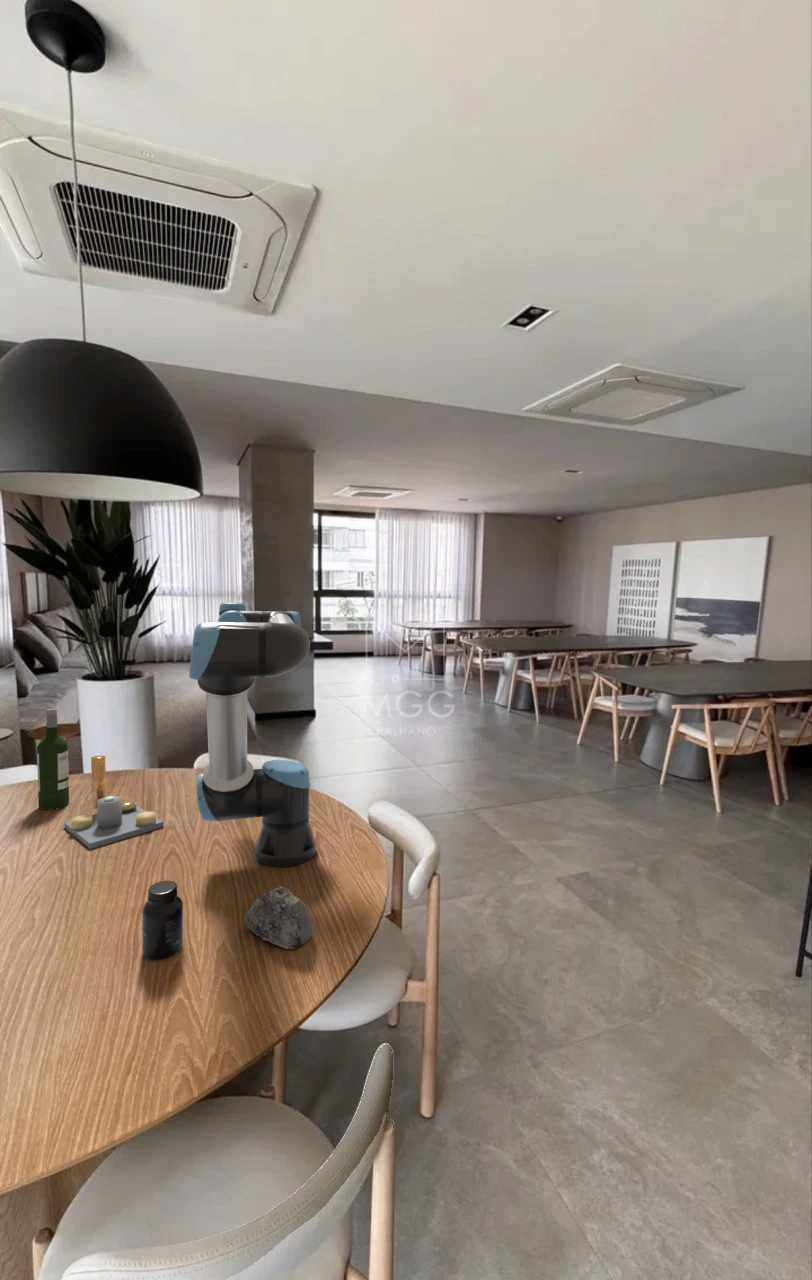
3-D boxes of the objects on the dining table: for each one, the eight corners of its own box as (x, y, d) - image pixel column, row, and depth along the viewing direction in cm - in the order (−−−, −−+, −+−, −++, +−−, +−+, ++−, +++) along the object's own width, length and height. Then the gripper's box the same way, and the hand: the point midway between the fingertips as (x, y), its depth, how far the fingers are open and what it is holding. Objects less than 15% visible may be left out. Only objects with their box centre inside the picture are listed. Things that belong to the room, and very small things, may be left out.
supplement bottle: (133, 955, 98) (132, 891, 97) (163, 934, 105) (162, 874, 104) (163, 965, 96) (162, 900, 95) (191, 943, 102) (190, 881, 101)
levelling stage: (163, 826, 153) (163, 795, 152) (89, 849, 139) (89, 814, 138) (134, 808, 166) (134, 779, 165) (64, 827, 151) (63, 795, 150)
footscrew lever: (141, 806, 163) (140, 755, 162) (132, 812, 158) (132, 760, 157) (97, 805, 163) (96, 754, 162) (88, 811, 158) (87, 759, 157)
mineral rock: (242, 925, 108) (242, 876, 107) (293, 909, 114) (294, 863, 113) (261, 962, 97) (261, 908, 96) (317, 943, 103) (318, 892, 102)
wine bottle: (69, 807, 166) (67, 710, 164) (38, 812, 161) (35, 712, 159) (68, 799, 172) (66, 705, 170) (38, 803, 168) (35, 708, 166)
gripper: (247, 657, 155) (247, 738, 156) (245, 653, 167) (245, 728, 169) (219, 657, 152) (220, 740, 154) (219, 653, 165) (219, 729, 166)
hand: (233, 734), depth 161 cm, fingers closed
